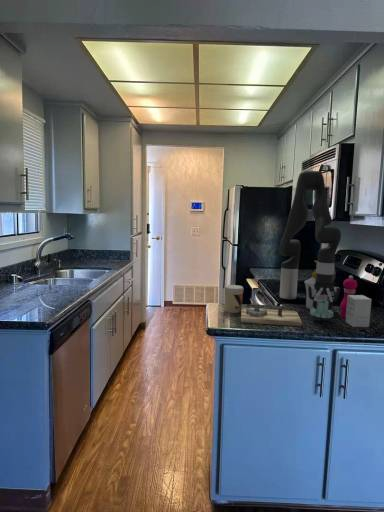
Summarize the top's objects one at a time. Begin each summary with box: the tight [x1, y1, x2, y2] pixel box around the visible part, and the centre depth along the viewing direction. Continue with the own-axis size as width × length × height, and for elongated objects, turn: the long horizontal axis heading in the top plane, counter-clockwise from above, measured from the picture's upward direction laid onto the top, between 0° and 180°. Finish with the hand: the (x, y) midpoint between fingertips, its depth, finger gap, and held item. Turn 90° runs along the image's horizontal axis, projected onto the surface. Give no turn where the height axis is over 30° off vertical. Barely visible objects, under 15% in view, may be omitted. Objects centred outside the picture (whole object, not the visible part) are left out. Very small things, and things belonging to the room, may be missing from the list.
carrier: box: [240, 302, 303, 327], centre depth 160 cm, size 16×26×6 cm, turn 81°
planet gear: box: [309, 300, 334, 319], centre depth 158 cm, size 10×10×6 cm
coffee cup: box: [223, 284, 244, 314], centre depth 171 cm, size 9×9×12 cm
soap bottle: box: [304, 260, 328, 310], centre depth 176 cm, size 13×13×25 cm
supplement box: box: [345, 294, 372, 328], centre depth 154 cm, size 7×7×13 cm
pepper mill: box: [339, 275, 358, 319], centre depth 164 cm, size 7×7×20 cm
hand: (321, 308), depth 158 cm, fingers closed on planet gear, 5 cm apart
